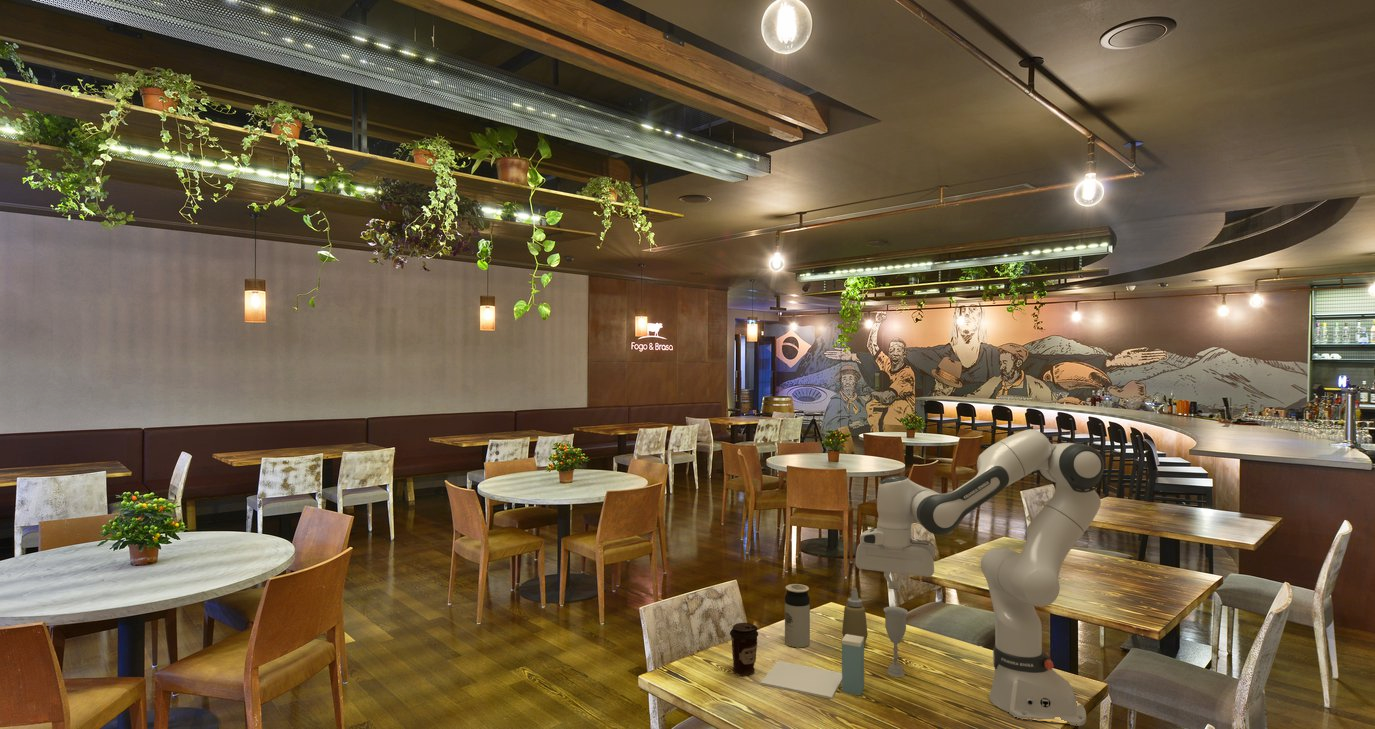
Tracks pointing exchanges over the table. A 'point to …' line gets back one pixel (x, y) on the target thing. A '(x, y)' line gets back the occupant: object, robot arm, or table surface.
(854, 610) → the squeeze bottle
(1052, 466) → the robot arm
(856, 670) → the long block
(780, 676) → the mat
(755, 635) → the coffee cup
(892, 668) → the chalice
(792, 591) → the travel mug
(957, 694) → the table surface
